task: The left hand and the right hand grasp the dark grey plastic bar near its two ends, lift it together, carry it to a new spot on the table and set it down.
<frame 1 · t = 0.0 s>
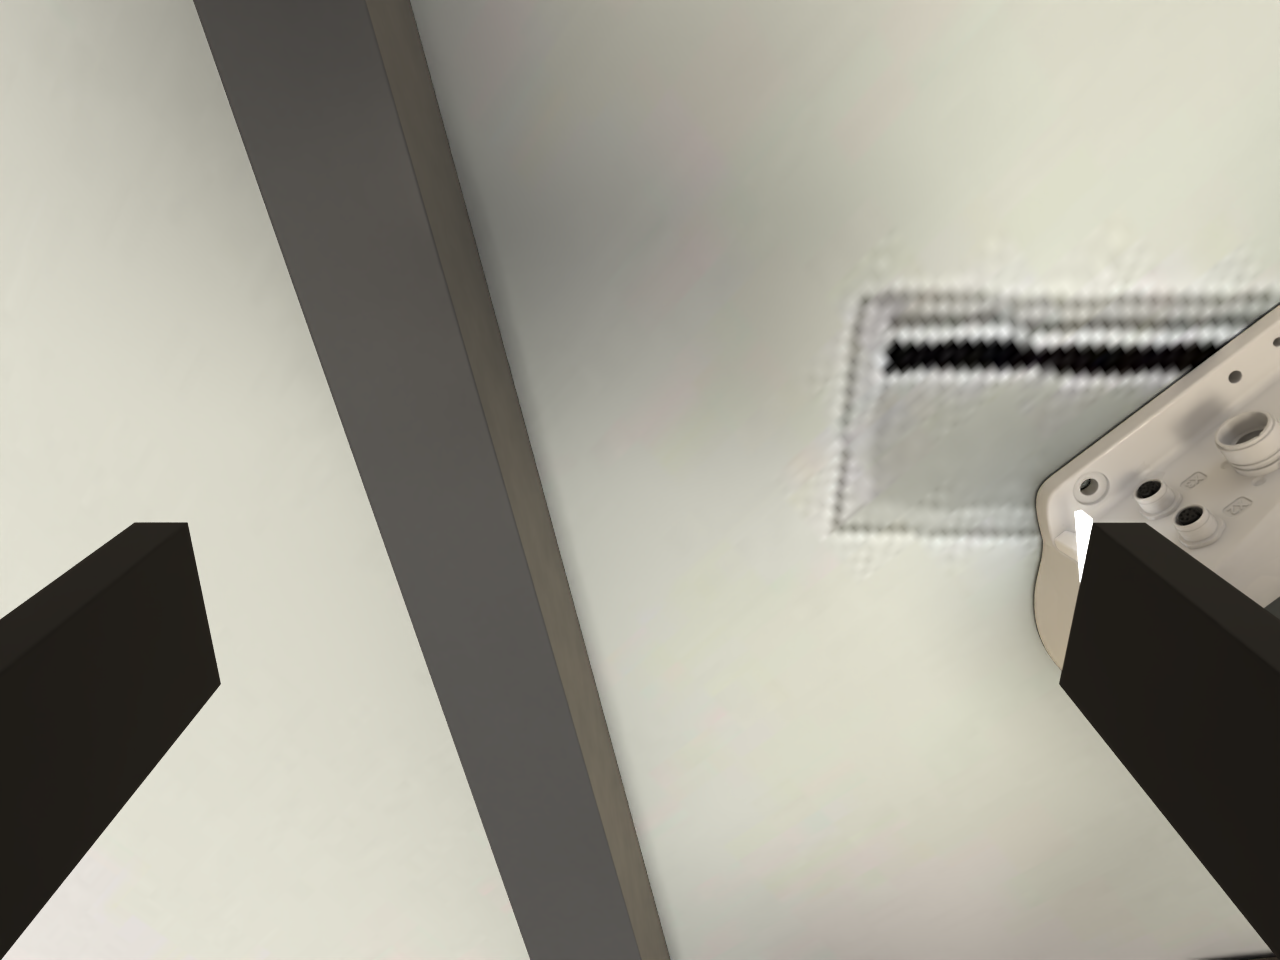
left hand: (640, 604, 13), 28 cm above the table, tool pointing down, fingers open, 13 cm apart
bar: (539, 672, 46), on the table
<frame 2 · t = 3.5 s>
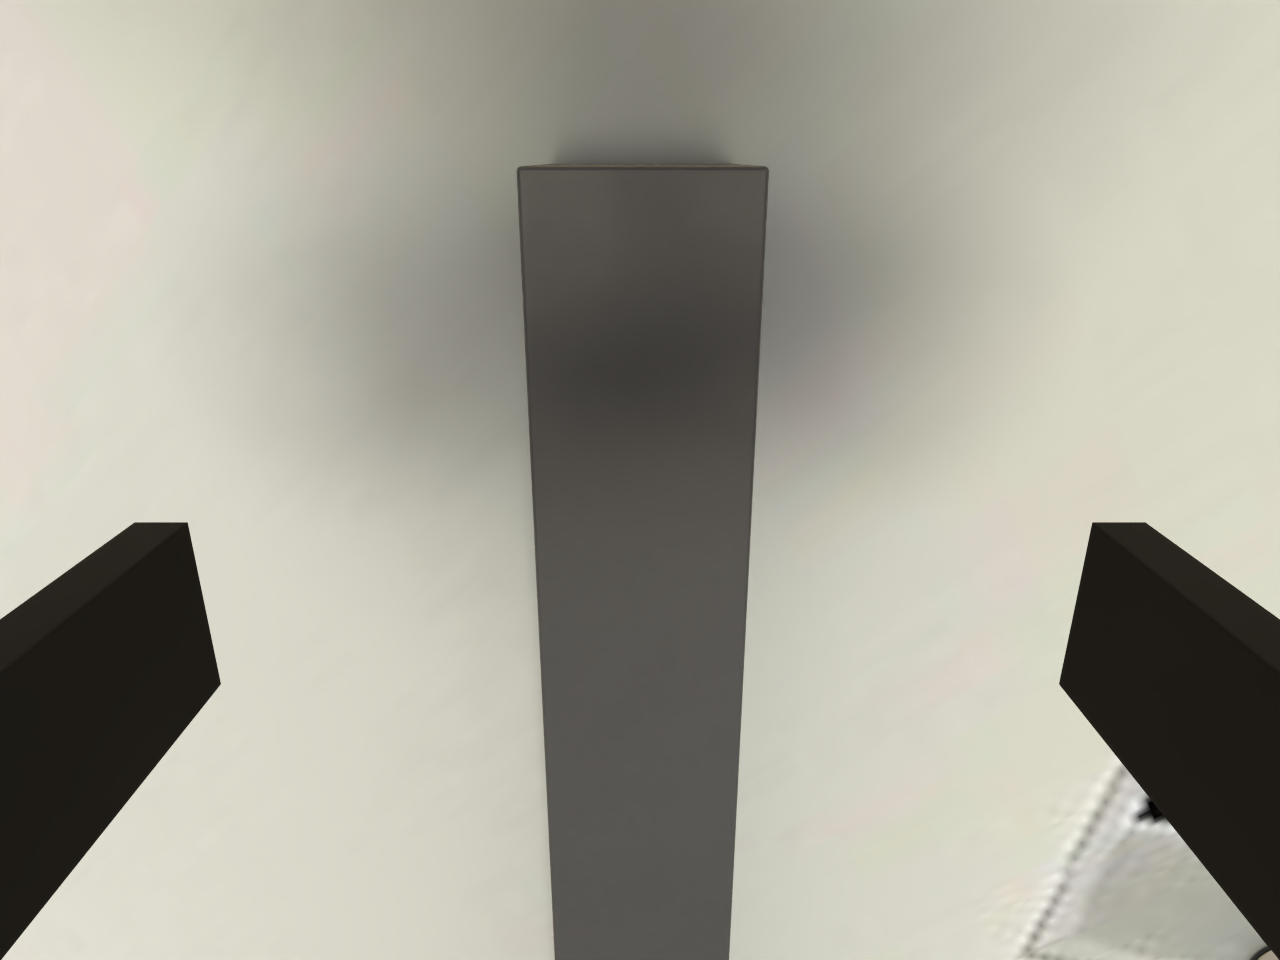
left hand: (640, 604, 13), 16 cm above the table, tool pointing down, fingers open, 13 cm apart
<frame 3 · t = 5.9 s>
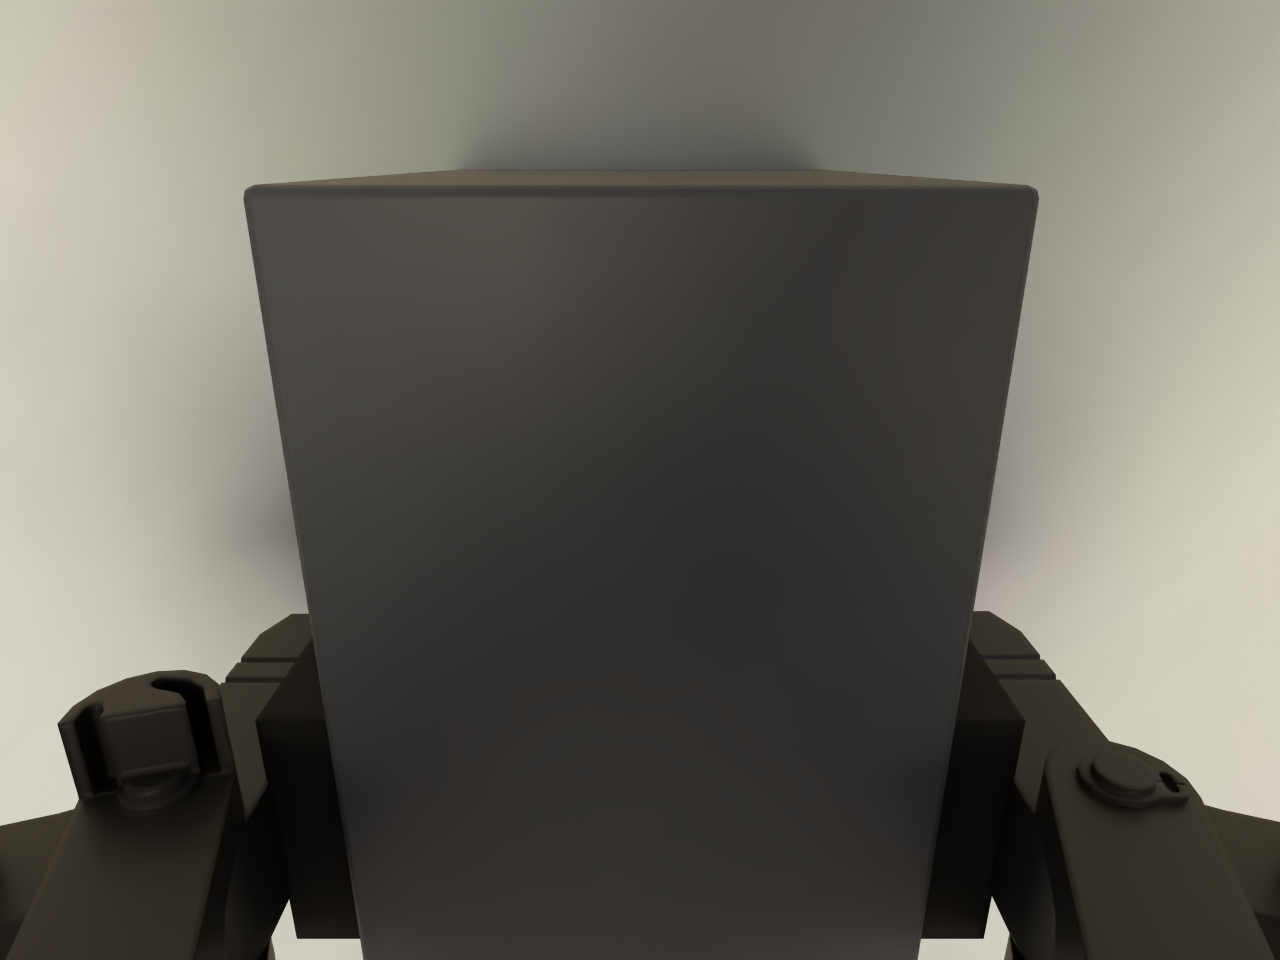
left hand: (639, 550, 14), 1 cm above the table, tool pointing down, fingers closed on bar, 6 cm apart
when the left hand's fingers open (2 cm above the table, at t = 13.7 s): bar stays where it is, held by the right hand.
when the right hand's fingers open (4 cm above the table, at t = 14.0 s): bar stays where it is, on the table.
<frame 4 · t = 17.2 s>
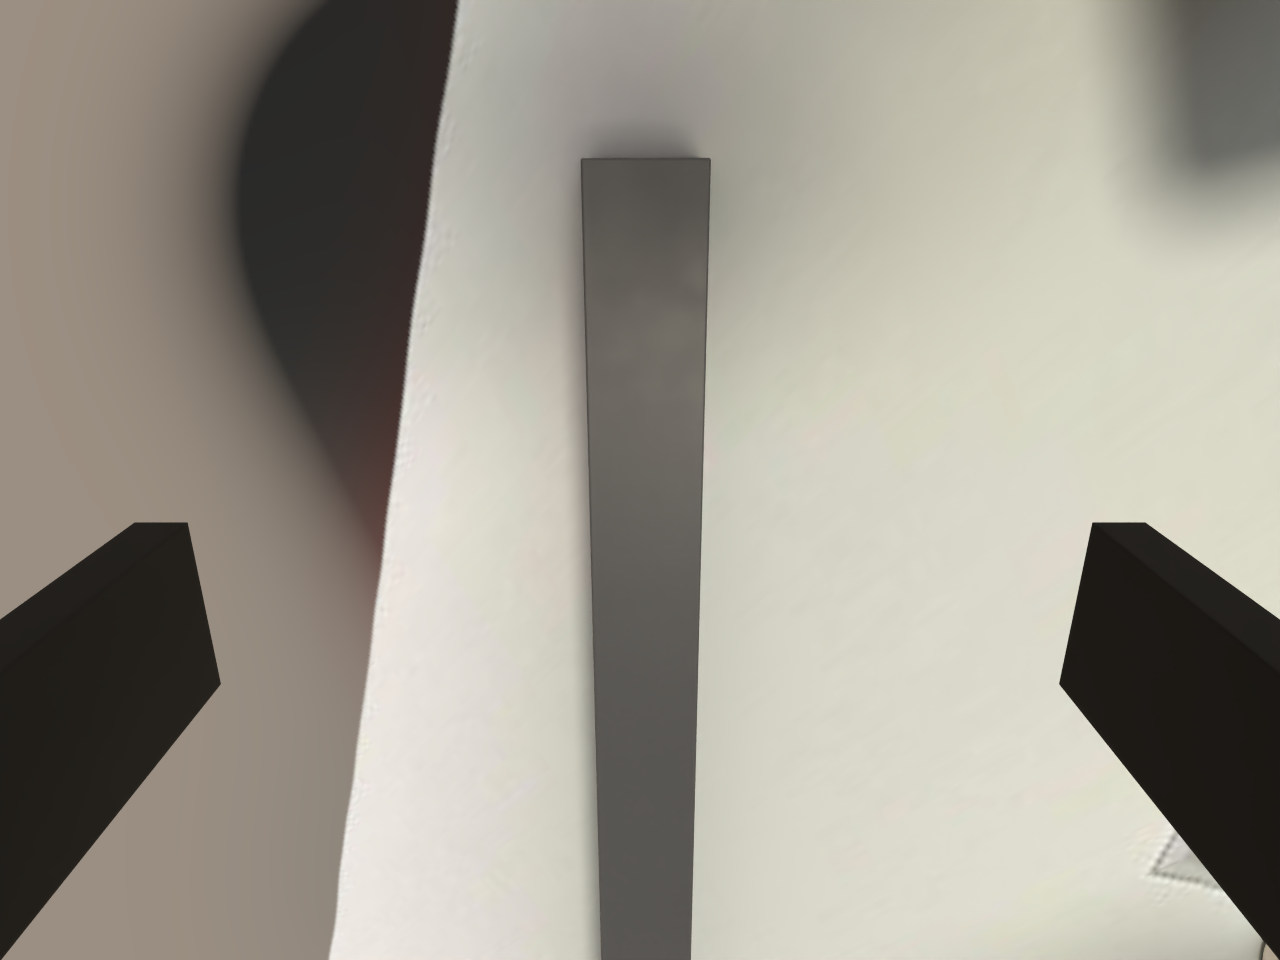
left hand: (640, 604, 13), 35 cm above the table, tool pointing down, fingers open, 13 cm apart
bar: (645, 759, 56), on the table
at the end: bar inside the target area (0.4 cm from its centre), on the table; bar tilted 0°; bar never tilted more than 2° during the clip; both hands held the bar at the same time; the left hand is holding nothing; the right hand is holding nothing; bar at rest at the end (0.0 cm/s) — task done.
